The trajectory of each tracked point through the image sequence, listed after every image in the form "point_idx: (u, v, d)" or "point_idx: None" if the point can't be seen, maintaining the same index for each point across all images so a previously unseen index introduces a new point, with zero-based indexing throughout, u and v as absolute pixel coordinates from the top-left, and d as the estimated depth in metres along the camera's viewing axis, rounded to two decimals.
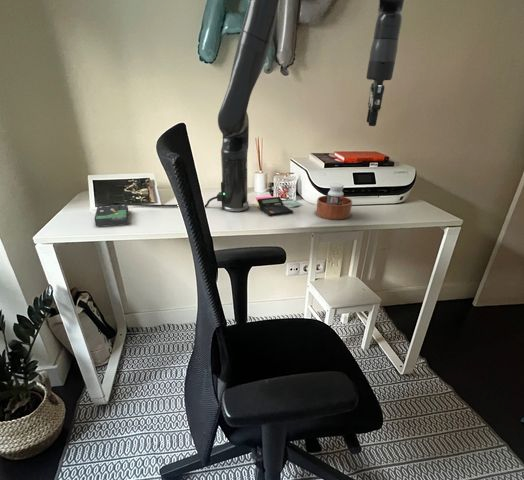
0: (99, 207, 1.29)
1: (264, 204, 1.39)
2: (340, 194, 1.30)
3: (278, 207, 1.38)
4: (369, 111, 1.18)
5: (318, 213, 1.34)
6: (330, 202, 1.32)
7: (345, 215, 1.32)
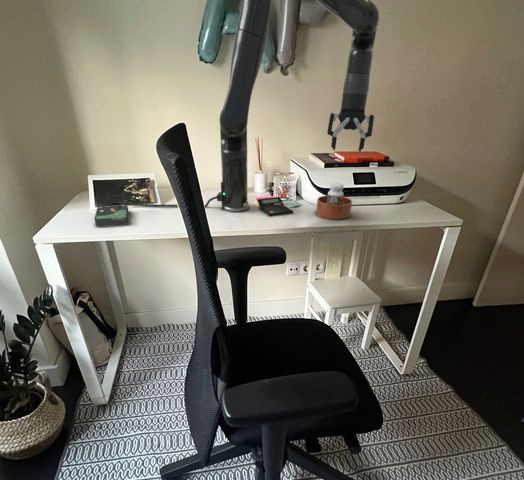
0: (99, 207, 1.29)
1: (264, 204, 1.39)
2: (340, 194, 1.30)
3: (278, 207, 1.38)
4: (360, 140, 1.21)
5: (318, 213, 1.34)
6: (330, 202, 1.32)
7: (345, 215, 1.32)
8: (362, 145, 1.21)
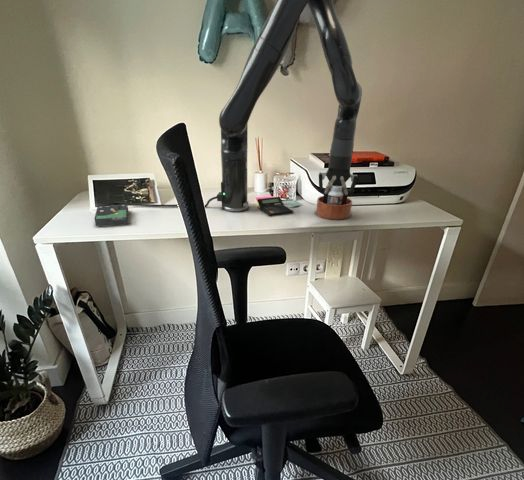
0: (99, 207, 1.29)
1: (264, 204, 1.39)
2: (340, 194, 1.30)
3: (278, 207, 1.38)
4: (343, 195, 1.33)
5: (318, 213, 1.34)
6: (330, 202, 1.32)
7: (345, 215, 1.32)
8: (345, 200, 1.32)
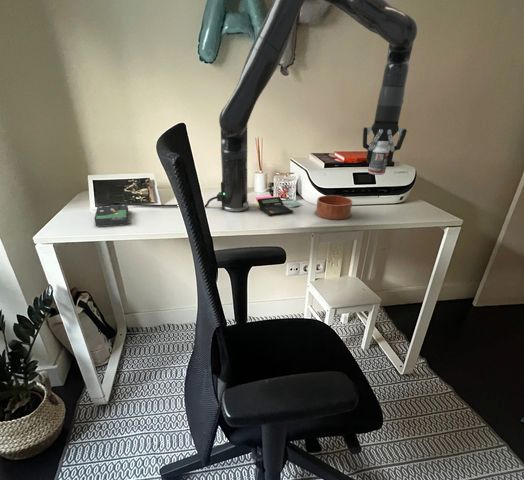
0: (99, 207, 1.29)
1: (264, 204, 1.39)
2: (386, 150, 1.20)
3: (278, 207, 1.38)
4: None
5: (318, 213, 1.34)
6: (375, 160, 1.22)
7: (345, 215, 1.32)
8: (390, 158, 1.22)
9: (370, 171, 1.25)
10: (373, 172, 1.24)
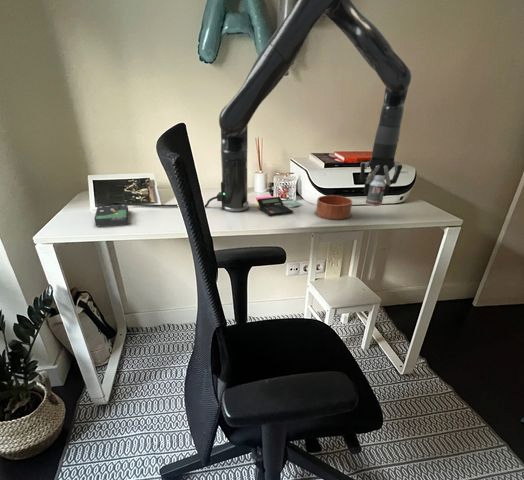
0: (99, 207, 1.29)
1: (264, 204, 1.39)
2: (383, 184, 1.26)
3: (278, 207, 1.38)
4: None
5: (318, 213, 1.34)
6: (372, 193, 1.28)
7: (345, 215, 1.32)
8: (387, 191, 1.29)
9: (367, 202, 1.31)
10: (370, 203, 1.30)
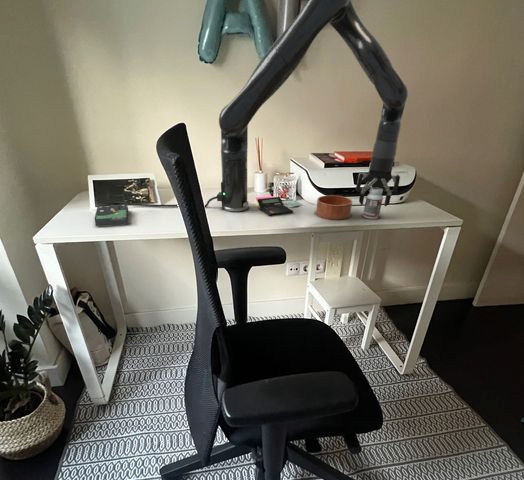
0: (99, 207, 1.29)
1: (264, 204, 1.39)
2: (380, 197, 1.29)
3: (278, 207, 1.38)
4: (386, 196, 1.31)
5: (318, 213, 1.34)
6: (369, 206, 1.31)
7: (345, 215, 1.32)
8: (388, 201, 1.30)
9: (365, 215, 1.34)
10: (367, 216, 1.33)
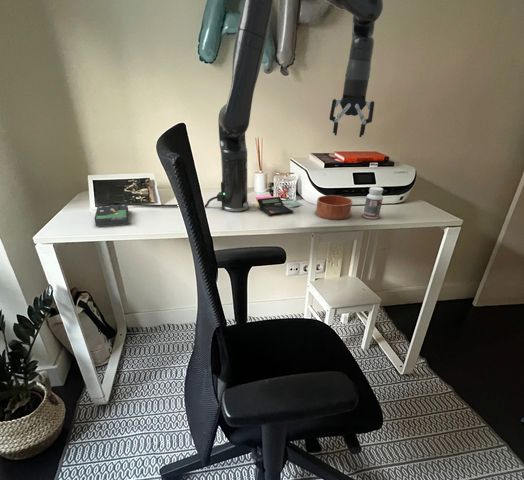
0: (99, 207, 1.29)
1: (264, 204, 1.39)
2: (380, 197, 1.29)
3: (278, 207, 1.38)
4: None
5: (318, 213, 1.34)
6: (369, 206, 1.31)
7: (345, 215, 1.32)
8: (363, 131, 1.25)
9: (365, 215, 1.34)
10: (367, 216, 1.33)
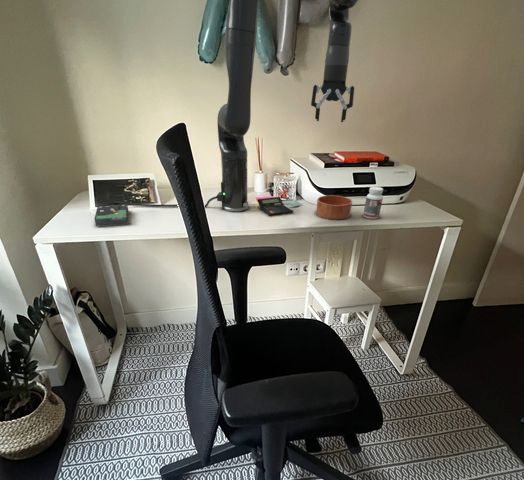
0: (99, 207, 1.29)
1: (264, 204, 1.39)
2: (380, 197, 1.29)
3: (278, 207, 1.38)
4: (342, 111, 1.28)
5: (318, 213, 1.34)
6: (369, 206, 1.31)
7: (345, 215, 1.32)
8: (344, 116, 1.28)
9: (365, 215, 1.34)
10: (367, 216, 1.33)
